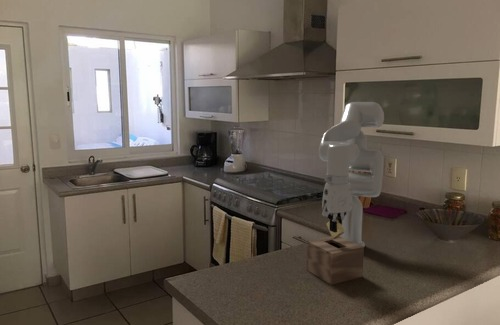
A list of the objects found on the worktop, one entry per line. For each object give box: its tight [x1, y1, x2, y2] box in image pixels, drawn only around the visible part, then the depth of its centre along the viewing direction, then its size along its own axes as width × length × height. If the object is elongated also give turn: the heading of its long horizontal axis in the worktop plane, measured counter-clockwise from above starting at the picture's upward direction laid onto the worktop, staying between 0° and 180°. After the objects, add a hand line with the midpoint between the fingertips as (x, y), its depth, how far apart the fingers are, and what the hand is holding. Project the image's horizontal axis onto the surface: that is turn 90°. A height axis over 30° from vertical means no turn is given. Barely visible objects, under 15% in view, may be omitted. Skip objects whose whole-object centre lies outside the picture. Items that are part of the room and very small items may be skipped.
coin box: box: [306, 236, 365, 286], centre depth 149 cm, size 14×14×11 cm
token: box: [325, 217, 345, 239], centre depth 147 cm, size 5×2×6 cm
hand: (335, 230), depth 147 cm, fingers closed on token, 1 cm apart
